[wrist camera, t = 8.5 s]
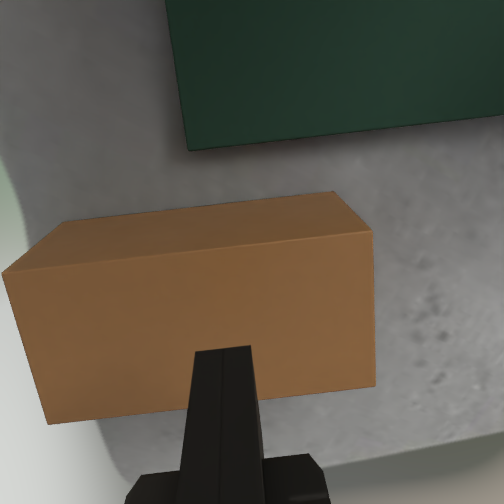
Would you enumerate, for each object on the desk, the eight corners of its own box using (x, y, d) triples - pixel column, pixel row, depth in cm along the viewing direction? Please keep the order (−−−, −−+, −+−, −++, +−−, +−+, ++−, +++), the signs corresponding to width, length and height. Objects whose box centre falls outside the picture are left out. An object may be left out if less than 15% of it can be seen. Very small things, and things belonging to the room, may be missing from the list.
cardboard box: (373, 230, 15) (-1, 272, 15) (376, 387, 17) (47, 425, 17) (334, 190, 21) (62, 221, 21) (339, 312, 23) (92, 341, 23)
